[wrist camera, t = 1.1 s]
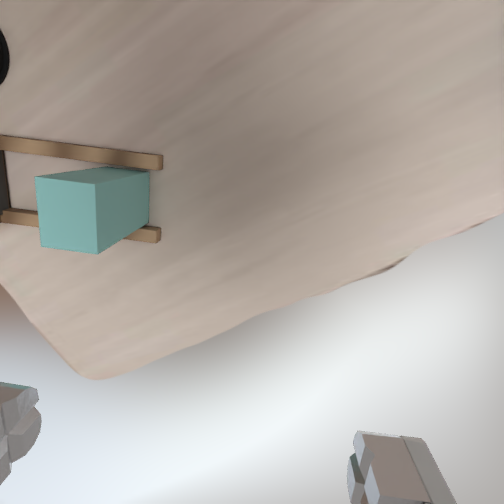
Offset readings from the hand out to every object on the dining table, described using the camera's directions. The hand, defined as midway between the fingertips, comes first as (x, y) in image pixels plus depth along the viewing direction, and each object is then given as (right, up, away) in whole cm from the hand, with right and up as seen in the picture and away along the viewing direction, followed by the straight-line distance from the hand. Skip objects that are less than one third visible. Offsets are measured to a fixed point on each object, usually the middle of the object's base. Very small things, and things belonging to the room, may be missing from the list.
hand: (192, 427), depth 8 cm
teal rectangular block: (-13, +11, +30) cm, 35 cm away
